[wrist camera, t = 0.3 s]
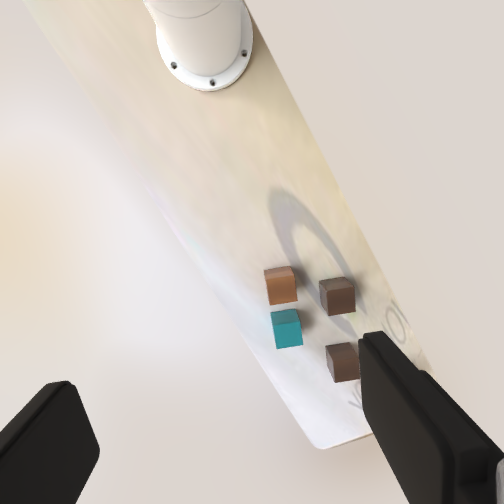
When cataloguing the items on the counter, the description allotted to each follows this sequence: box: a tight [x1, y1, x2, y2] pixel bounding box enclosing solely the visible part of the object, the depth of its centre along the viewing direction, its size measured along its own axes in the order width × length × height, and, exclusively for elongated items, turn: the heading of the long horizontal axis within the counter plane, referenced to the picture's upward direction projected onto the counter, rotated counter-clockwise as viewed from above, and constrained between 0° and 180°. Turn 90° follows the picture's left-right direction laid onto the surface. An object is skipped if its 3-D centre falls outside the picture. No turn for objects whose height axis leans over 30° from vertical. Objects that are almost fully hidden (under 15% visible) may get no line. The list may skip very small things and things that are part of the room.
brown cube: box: [325, 342, 360, 383], centre depth 49 cm, size 4×4×4 cm
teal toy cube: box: [271, 309, 303, 349], centre depth 47 cm, size 4×4×4 cm
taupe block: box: [319, 277, 356, 316], centre depth 46 cm, size 4×4×4 cm
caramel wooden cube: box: [264, 266, 298, 305], centre depth 45 cm, size 4×4×4 cm
